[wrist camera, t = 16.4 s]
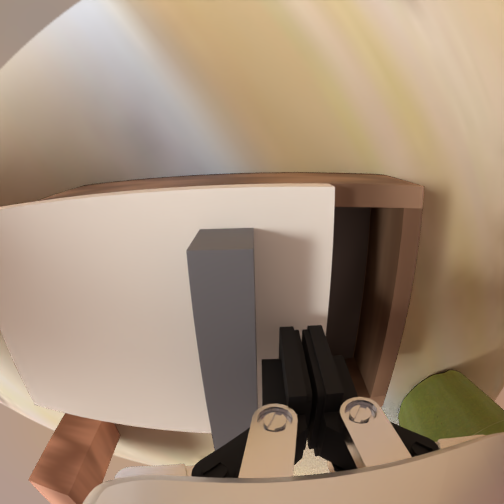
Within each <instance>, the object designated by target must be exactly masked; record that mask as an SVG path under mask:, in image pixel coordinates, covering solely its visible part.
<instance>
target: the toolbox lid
mask: <svg viewBox="0 0 504 504" xmlns="http://www.w3.org/2000/svg"><path fill="white" fill-rule="evenodd" d="M334 205H335V187H334V186H332V185H331V184H320V183H283V184H235V185H209V186H189V187H172V188H158V189H144V190H132V191H121V192H110V193H100V194H90V195H81V196H73V197H64V198H56V199H49V200H41V201H34V202H27V203H21V204H14V205H8V206H2V207H0V331H1V333H2V336H3V338H4V341H5V343H6V346H7V348H8V350H9V353H10V355H11V357H12V360H13V362H14V364H15V366H16V368H17V371H18V373H19V375H20V377H21V379H22V381H23V383H24V385H25V387H26V389H27V391H28V393H29V395H30V397H31V398H32V400H33V402H34V404H35V405H37V406H41V407H44V408H48V409H51V410H55V411H59V412H63V413H67V414H72V415H76V416H80V417H85V418H90V419H95V420H100V421H105V422H111V423H116V424H123V425H129V426H136V427H143V428H151V429H160V430H170V431H181V432H195V433H212V438H213V443H214V448H215V451H216V450H217V449H219V448H220V447H222V446H223V445H225V444H226V443H228V442H229V441H231V440H232V439H234V438H235V437H237V436H238V435H240V434H241V433H242V432H244V431H245V430H247V429H248V428H250V426H251V421H252V417H253V415H254V412H255V411H256V410H257V409H259V408H260V407H262V359H279V328H280V327H289V326H293V327H294V330H299V333H300V337H301V342H302V330H303V329H307V326H311V325H322V328H323V330H324V333H325V336H326V327H327V317H328V306H329V295H330V282H331V268H332V251H333V232H334Z"/></svg>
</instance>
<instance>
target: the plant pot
mask: <svg viewBox="0 0 504 504" xmlns="http://www.w3.org/2000/svg"><path fill="white" fill-rule="evenodd" d="M398 419H399V424H400V426H401V427H403V428H406V429H408V430H410V431H413V432H415V433H418V434H420V435H423V436H425V437H428V438H430V439H431V440H433V441H434V442H438V440H439V439H446V438H456V437H465V436H473V435H490V434H495V433H501V432H504V410H503V409H502V408H501V407H500V406H499V405H497V404H496V403H495V402H494V401H493V400H492V399H491V398H489V397H488V396H487V395H486V394H485V393H484V392H483V391H481V390H480V389H479V388H478V387H477V386H476V385H474V384H473V383H472V382H471V381H470V380H469V379H467V378H466V377H465V376H464V375H463V374H462V373H460V372H458V371H454V370H449V371H447V372H446V373H442V374H435V375H432V376H430V377H428V378H427V379H425V380H424V381H422V382H421V383H419V384H418V385H417V386H416V387H415V388H414V389H413V390H412V391H411V392H410V393H409V394H408V395H407V396H406V397H405V399H404V400H403V402H402V404H401V408H400V412H399V415H398Z"/></svg>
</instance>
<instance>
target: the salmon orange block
mask: <svg viewBox="0 0 504 504" xmlns="http://www.w3.org/2000/svg"><path fill="white" fill-rule="evenodd" d="M119 437H120V435H119V432H118V430H117V428H116V426H115V424H114V423H111V422H105V421H100V420H95V419H90V418H85V417H80V416H76V415H72V414H67V413H65V415H64V416H63V418H62V420H61V421H60V423H59V425H58V427H57V428H56V430H55V432H54V434H53V436H52V437H51V439H50V441H49V443H48V444H47V446H46V448H45V450H44V452H43V453H42V455H41V457H40V459H39V461H38V463H37V465H36V466H35V469H34V470H33V472H32V474H31V476H30V478H29V481H30V482H31V483H32V484H33V485H34V486H35V488H36V489H37V490H38V491H39V492H40V493H41V494H42V495H43V496H44V497H45V498H46V499H47V500H48V501H49V502H50V503H51V504H83V502H84V500H85V499H86V497H87V496H88V494H89V493H90V492H91V491H92V490H93V489H94V488H95V487H96V486H98V485H99V484H101V483H102V482H103V479H104V476H105V474H106V471H107V468H108V466H109V463H110V461H111V458H112V455H113V453H114V450H115V448H116V445H117V443H118V440H119Z"/></svg>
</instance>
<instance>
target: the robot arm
mask: <svg viewBox="0 0 504 504" xmlns="http://www.w3.org/2000/svg"><path fill="white" fill-rule="evenodd" d="M306 440H307V441H308V447H309V449H314V453H315V456H321V457H322V458H324V459H326V460H327V466H328V469H329V471H330V473H324V474H314V475H304V476H293V469H294V465H295V464H296V463H297V462H298V461H299V460H300V459H301V458H302V456H303V450H304V449H305V447H306ZM83 504H504V432H501V433H495V434H490V435H473V436H465V437H456V438H446V439H439V440H438V442H434V441H433V440H431V439H430V438H428V437H425V436H423V435H420V434H418V433H415V432H413V431H410V430H408V429H406V428H403V427H401V426H399V425H396V424H394V423H392V422H390V421H389V420H388V418H387V417H386V415H385V413H384V412H383V410H382V409H381V407H380V406H379V405H378V404H377V402H375V401H373V400H372V399H369V398H366V397H358V395H357V392H356V389H355V387H354V384H353V381H352V378H351V376H350V373H349V370H348V368H347V365H346V362H345V360H344V357H343V356H342V355H335V356H332V354H331V351H330V348H329V345H328V342H327V339H326V336H325V333H324V330H323V328H322V325H311V326H307V329H303V330H302V342H301V337H300V333H299V330H294V327H293V326H289V327H280V328H279V359H262V407H260V408H259V409H257V410H256V411H255V412H254V415H253V417H252V421H251V426H250V428H248V429H247V430H245V431H244V432H242V433H241V434H240V435H238V436H237V437H235V438H234V439H232V440H231V441H229V442H228V443H226V444H225V445H223V446H222V447H220V448H219V449H217V450H216V451H214V452H213V453H211V454H210V455H208V456H206V457H205V458H203V459H202V460H200V461H199V462H198V463H197V464H195V465H193V466H185V464H176V465H162V466H142V467H127V468H124V469H122V470H120V471H119V472H118V473H117V474H116V475H115V478H114V479H113V480H110V481H106V482H104V483H101V484H99V485H98V486H96V487H95V488H94V489H93V490H92V491H91V492H90V493H89V494H88V496H87V497H86V499H85V500H84V502H83Z"/></svg>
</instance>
